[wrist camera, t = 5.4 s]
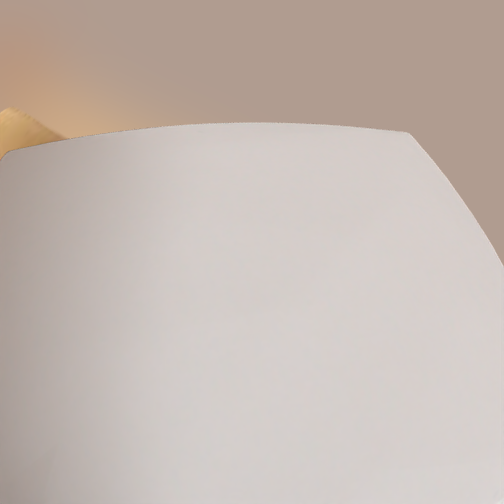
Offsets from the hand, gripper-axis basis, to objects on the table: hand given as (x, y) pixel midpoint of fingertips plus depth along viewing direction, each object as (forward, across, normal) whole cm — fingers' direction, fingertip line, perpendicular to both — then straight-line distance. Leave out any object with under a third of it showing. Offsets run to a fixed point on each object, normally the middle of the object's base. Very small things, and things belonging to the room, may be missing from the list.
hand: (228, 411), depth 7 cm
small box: (+4, 0, +6) cm, 7 cm away
